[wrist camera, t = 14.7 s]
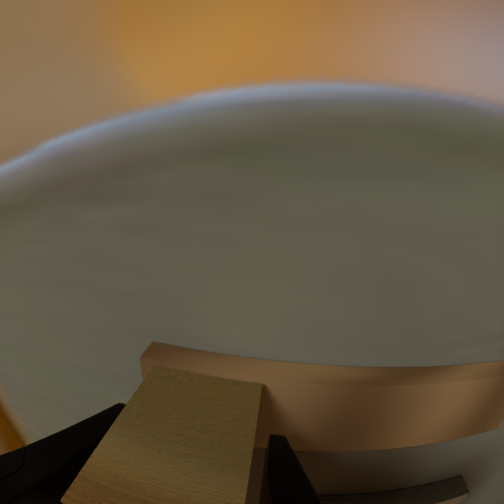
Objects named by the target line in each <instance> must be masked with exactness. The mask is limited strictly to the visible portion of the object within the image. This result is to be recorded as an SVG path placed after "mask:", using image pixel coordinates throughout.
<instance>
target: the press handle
mask: <svg viewBox="0 0 504 504" xmlns="http://www.w3.org/2000/svg"><path fill="white" fill-rule="evenodd" d="M261 388H262V384H261V383H253V382H245V381H238V380H231V379H225V378H219V377H213V376H207V375H201V374H196V373H191V372H186V371H181V370H176V369H171V368H166V367H162V366H158V365H154V366H153V367H152V369H151V370H150V372H149V373H148V374H147V376H146V377H145V379H144V380H143V382H142V383H141V384H140V386H139V387H138V389H137V390H136V391H135V393H134V394H133V396H132V397H131V399H130V400H129V401H128V403H127V404H126V406H125V407H124V409H123V410H122V411H121V413H120V414H119V416H118V417H117V419H116V420H115V421H114V423H113V424H112V426H111V427H110V429H109V430H108V432H107V433H106V434H105V436H104V437H103V439H102V440H101V442H100V443H99V445H98V446H97V448H96V449H95V450H94V452H93V453H92V455H91V456H90V458H89V459H88V461H87V462H86V464H85V465H84V466H83V468H82V469H81V471H80V472H79V474H78V475H77V477H76V478H75V480H74V481H73V483H72V484H71V486H70V487H69V489H68V490H67V492H66V493H65V495H64V496H63V498H62V499H61V500H60V501H61V502H62V504H245V499H246V493H247V487H248V480H249V474H250V467H251V460H252V454H253V447H254V440H255V433H256V426H257V418H258V411H259V404H260V396H261Z"/></svg>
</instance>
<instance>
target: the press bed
mask: <svg viewBox="0 0 504 504" xmlns="http://www.w3.org/2000/svg"><path fill="white" fill-rule="evenodd" d="M469 493H470V492H469V490H468V488H467V486H466V484H465V481H464V479H463V477H462V475H461V476H458V477H454V478H450V479H447V480H443V481H439V482H435V483H430V484H426V485H421V486H416V487H411V488H406V489H400V490H393V491H386V492H379V493H370V494H359V495H345V496H319V498H320V500H321V502H322V503H323V504H459V503H460V502H461V501H462V500H463V499H464V498H465V497H466V496H467V495H468V494H469Z"/></svg>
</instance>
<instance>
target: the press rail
mask: <svg viewBox="0 0 504 504" xmlns="http://www.w3.org/2000/svg"><path fill="white" fill-rule="evenodd" d="M140 360H141V369H142V377H143V380H144V379H145V377H146V376H147V374H148V373H149V372H150V370H151V369H152V367H153V366H154V365H158V366H162V367H166V368H171V369H176V370H181V371H186V372H191V373H196V374H201V375H207V376H213V377H219V378H225V379H231V380H238V381H245V382H253V383H261V384H262V388H261V396H260V404H259V411H258V418H257V426H256V433H255V440H254V447H259V448H267V445H268V440H269V436H270V435H271V434H278V435H284V436H286V438H287V440H288V442H289V443H290V445H291V447H292V449H293V450H294V451H320V452H344V451H369V450H383V449H394V448H403V447H411V446H419V445H425V444H432V443H437V442H443V441H448V440H453V439H458V438H462V437H466V436H471V435H475V434H478V433H482V432H486V431H489V430H493V429H496V428H498V426H499V425H500V423H501V421H502V420H503V418H504V361H497V362H488V363H478V364H467V365H453V366H435V367H348V366H328V365H313V364H301V363H289V362H279V361H270V360H261V359H253V358H245V357H238V356H231V355H224V354H218V353H212V352H206V351H200V350H194V349H189V348H183V347H178V346H173V345H168V344H163V343H158V342H152V343H151V345H150V346H149V347H148V348H147V349H146V351H145V352H144V353H143V354H142V356H141V357H140Z"/></svg>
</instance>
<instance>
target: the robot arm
mask: <svg viewBox="0 0 504 504" xmlns="http://www.w3.org/2000/svg"><path fill="white" fill-rule="evenodd" d="M125 406H126V404H123V403H118V404H116V405H114V406H112V407H110V408H108V409H106V410H104V411H102V412H100V413H98V414H96V415H93V416H91V417H89V418H87V419H85V420H83V421H81V422H79V423H77V424H75V425H72V426H70V427H68V428H66V429H64V430H61V431H59V432H57V433H55V434H52V435H50V436H48V437H46V438H43V439H41V440H39V441H36V442H34V443H32V444H29V445H27V447H26V446H24V447H22V448H19V449H17V450H14V451H11V452H8V453H5V454H3V455H0V504H62V502H61V501H60V500H61V499H62V498H63V496H64V495H65V493H66V492H67V490H68V489H69V487H70V486H71V484H72V483H73V481H74V480H75V478H76V477H77V475H78V474H79V472H80V471H81V469H82V468H83V466H84V465H85V464H86V462H87V461H88V459H89V458H90V456H91V455H92V453H93V452H94V450H95V449H96V448H97V446H98V445H99V443H100V442H101V440H102V439H103V437H104V436H105V434H106V433H107V432H108V430H109V429H110V427H111V426H112V424H113V423H114V421H115V420H116V419H117V417H118V416H119V414H120V413H121V411H122V410H123V409H124V407H125ZM259 504H323V503H322V502H321V500H320V498H319V496H318V495H317V493H316V491H315V489H314V488H313V486H312V484H311V482H310V480H309V479H308V477H307V475H306V473H305V471H304V470H303V468H302V466H301V464H300V462H299V460H298V458H297V457H296V455H295V453H294V451H293V449H292V447H291V445H290V443H289V442H288V440H287V438H286V436H284V435H278V434H271V435H270V436H269V440H268V445H267V449H266V455H265V462H264V469H263V477H262V484H261V491H260V500H259Z"/></svg>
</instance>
